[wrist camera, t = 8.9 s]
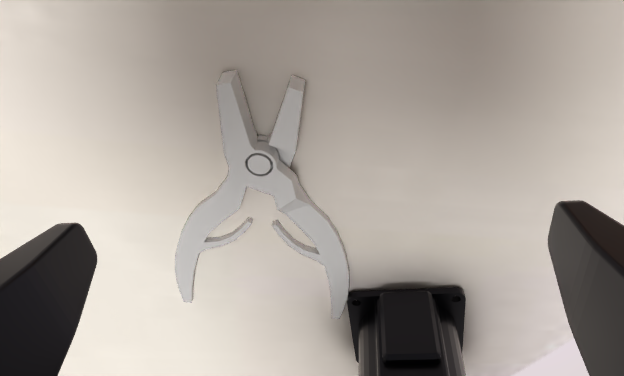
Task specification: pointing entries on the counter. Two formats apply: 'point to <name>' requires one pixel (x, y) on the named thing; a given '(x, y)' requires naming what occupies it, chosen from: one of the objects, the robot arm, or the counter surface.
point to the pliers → (266, 178)
